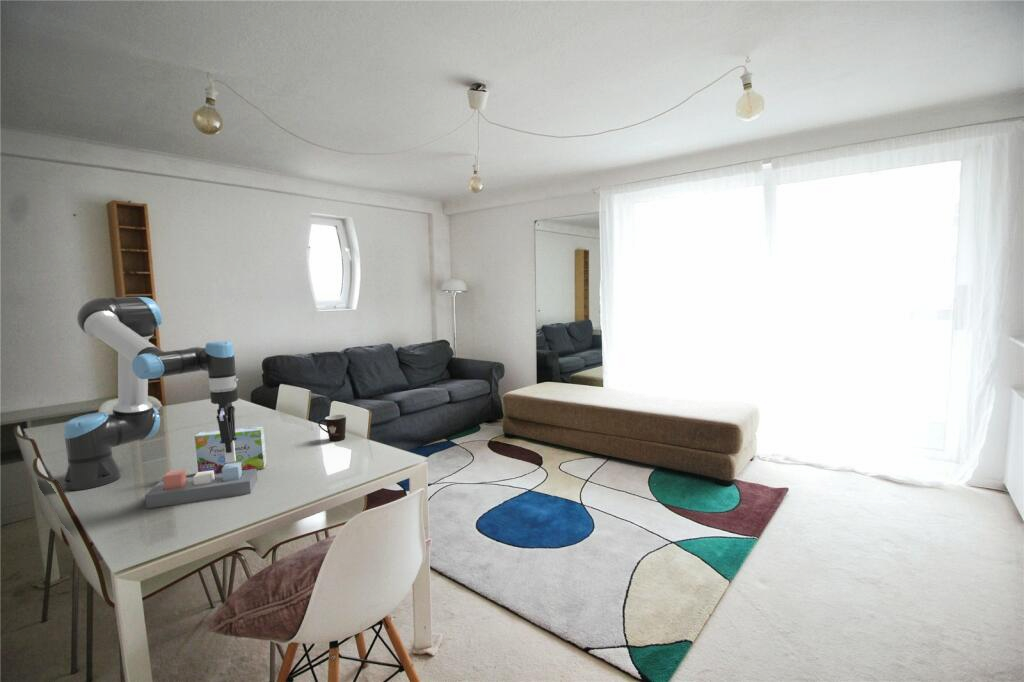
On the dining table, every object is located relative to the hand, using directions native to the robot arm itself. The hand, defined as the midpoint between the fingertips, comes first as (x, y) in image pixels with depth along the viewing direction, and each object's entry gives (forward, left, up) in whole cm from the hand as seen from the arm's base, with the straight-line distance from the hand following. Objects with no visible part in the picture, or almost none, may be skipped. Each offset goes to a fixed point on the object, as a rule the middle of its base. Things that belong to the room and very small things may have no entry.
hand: (230, 461), depth 157 cm
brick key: (-16, 0, -6) cm, 17 cm away
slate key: (0, 0, -6) cm, 6 cm away
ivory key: (-8, 0, -7) cm, 11 cm away
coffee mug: (+30, +46, -10) cm, 56 cm away
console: (-8, 0, -10) cm, 12 cm away
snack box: (-4, +20, -10) cm, 23 cm away
